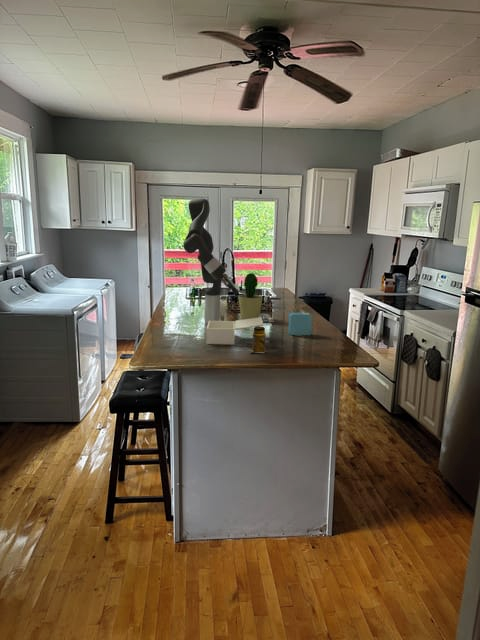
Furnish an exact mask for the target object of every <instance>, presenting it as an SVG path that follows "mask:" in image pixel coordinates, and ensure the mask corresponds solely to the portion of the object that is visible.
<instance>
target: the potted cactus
mask: <svg viewBox="0 0 480 640" xmlns="http://www.w3.org/2000/svg"><path fill="white" fill-rule="evenodd" d="M257 277H258V276H257V275H256V274H255V273H251V272H248V273H247V274H246V276H245V277H244V280H243V288H244V293H245V294H240V295H238V304H239V312H240V320H244V319H251V318H258V317H260V314H261V308H262V302H263V297H264V295H263V296H262V295H260V294H259V295H258V294H256V289H257V287H258V278H257Z"/></svg>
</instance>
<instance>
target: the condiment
mask: <svg viewBox="0 0 480 640" xmlns="http://www.w3.org/2000/svg"><path fill="white" fill-rule="evenodd" d="M265 330H266V328H265V326H259V327H253V333H252V348H251V349H252V350H253V351H254V352H264V351H265V352H266V331H265Z"/></svg>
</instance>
